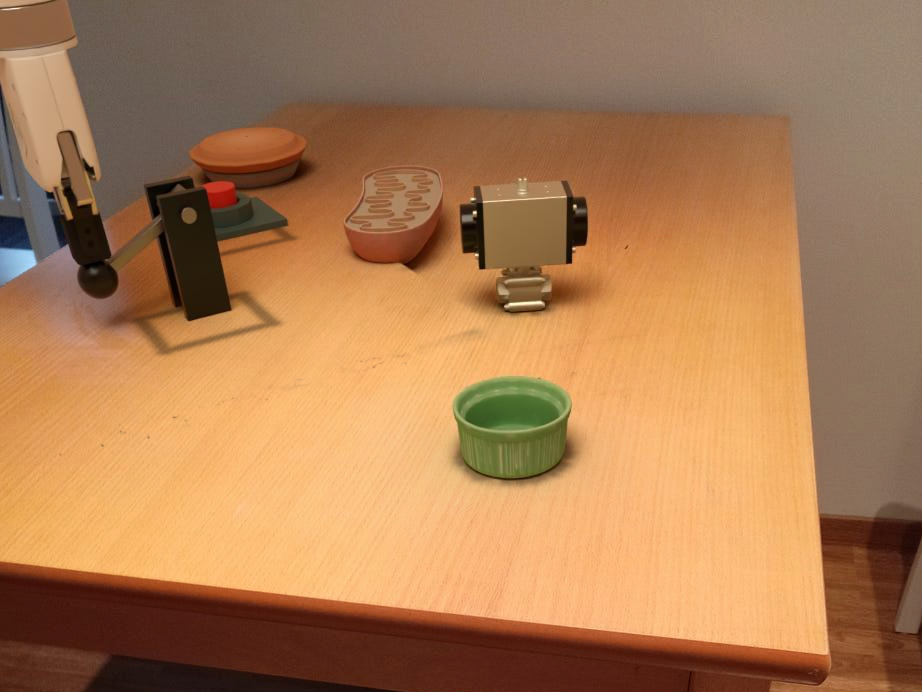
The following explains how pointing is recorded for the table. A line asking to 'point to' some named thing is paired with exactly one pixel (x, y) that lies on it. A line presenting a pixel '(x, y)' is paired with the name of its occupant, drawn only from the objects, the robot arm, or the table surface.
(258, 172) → the pie
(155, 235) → the lever
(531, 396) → the ramekin
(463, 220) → the pneumatic valve
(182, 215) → the bracket
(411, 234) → the anatomical model
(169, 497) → the table surface
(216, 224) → the button box
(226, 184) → the button
